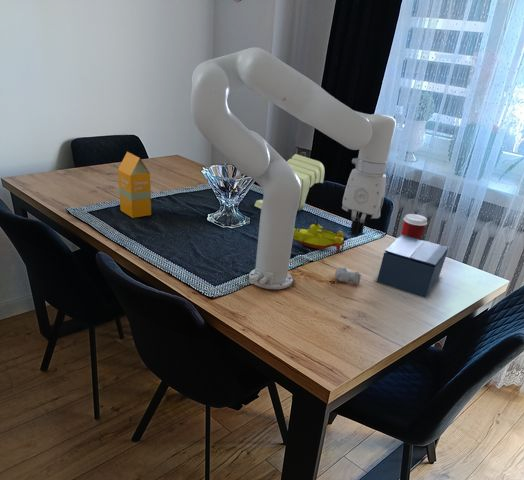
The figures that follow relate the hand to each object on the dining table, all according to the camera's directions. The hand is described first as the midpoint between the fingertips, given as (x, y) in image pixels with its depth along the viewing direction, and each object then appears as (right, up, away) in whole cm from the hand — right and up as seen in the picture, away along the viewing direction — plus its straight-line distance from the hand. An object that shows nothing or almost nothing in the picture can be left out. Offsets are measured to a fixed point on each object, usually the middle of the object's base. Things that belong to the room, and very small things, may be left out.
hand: (355, 234), depth 139 cm
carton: (+19, -11, +14) cm, 26 cm away
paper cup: (+22, -1, +29) cm, 37 cm away
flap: (+17, -1, +10) cm, 19 cm away
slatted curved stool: (-19, +23, +58) cm, 65 cm away
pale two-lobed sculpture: (-1, -12, +8) cm, 15 cm away
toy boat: (-8, +2, +28) cm, 30 cm away
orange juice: (-72, +17, +39) cm, 83 cm away
